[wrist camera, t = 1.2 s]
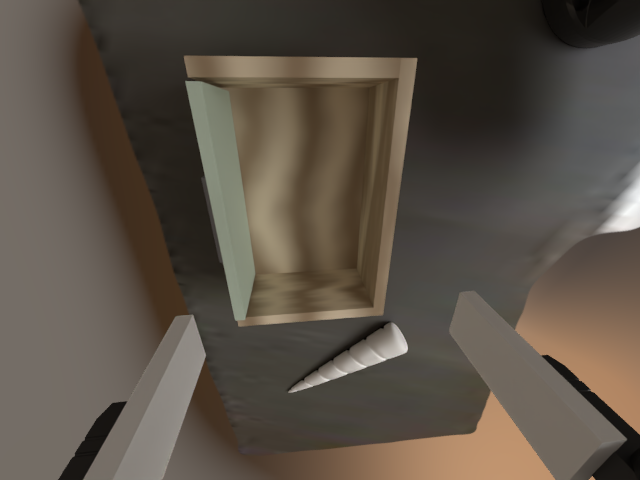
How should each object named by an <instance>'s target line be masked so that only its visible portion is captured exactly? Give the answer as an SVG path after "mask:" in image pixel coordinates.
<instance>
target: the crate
mask: <svg viewBox="0 0 640 480" xmlns="http://www.w3.org/2000/svg"><path fill="white" fill-rule="evenodd" d="M184 60H185V65H186V70H187V75H188V77H189V78H192V79H195V80H197V81H202V82H204V83H207V84H210V85H213V86H216V87H219V88H221V89H224V90H227V91H229V95H230V102H231V109H232V116H233V122H234V129H235V136H236V143H237V150H238V157H239V164H240V171H241V177H242V184H243V191H244V198H245V205H246V212H247V219H248V226H249V232H250V239H251V246H252V253H253V260H254V267H255V278H254V283H253V287H252V292H251V296H250V301H249V305H248V309H247V314H246V318H245V320H238V325H239V326H251V325H264V324H276V323H289V322H301V321H314V320H326V319H339V318H352V317H364V316H377V315H383V311H384V303H385V296H386V288H387V281H388V274H389V266H390V259H391V251H392V244H393V236H394V229H395V222H396V214H397V207H398V199H399V192H400V184H401V177H402V170H403V162H404V155H405V147H406V140H407V133H408V125H409V118H410V110H411V103H412V95H413V88H414V81H415V73H416V66H417V58H367V57H268V56H184Z"/></svg>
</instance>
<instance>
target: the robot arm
mask: <svg viewBox="0 0 640 480" xmlns="http://www.w3.org/2000/svg"><path fill="white" fill-rule="evenodd" d="M542 1H543V7H544V12H545V15H546V18H547V20H548V23H549V25H550V27H551V28H552V30H553V31H554V33H555V34H556V35H557V36H558V37H559V38H560V39H561V40H563V41H564V42H566V43H567V44H570V45H572V46H575V47H580V48H593V47H598V46H603V45H607V44H612V43H616V42H621V41H624V40H627V39H630V38H632V37H635V36H638V35H640V0H542ZM449 333H450V334H451V336H452V337H453V338H454V340H455V341H456V343H457V344H458V345H459V347H460V348H461V349H462V351H463V352H464V354H465V355H466V356H467V358H468V359H469V361H470V362H471V363H472V365H473V366H474V367H475V369H476V370H477V372H478V373H479V374H480V376H481V377H482V379H483V380H484V381H485V383H486V384H487V385H488V387H489V388H490V390H491V391H492V392H493V394H494V395H495V396H496V398H497V399H498V401H499V402H500V403H501V405H502V406H503V408H504V409H505V410H506V412H507V413H508V414H509V416H510V417H511V418H512V420H513V421H514V423H515V424H516V426H517V427H518V428H519V430H520V431H521V432H522V434H523V435H524V437H525V438H526V439H527V441H528V442H529V443H530V445H531V446H532V448H533V449H534V450H535V451H536V453H537V455H538V456H539V457H540V459H541V460H542V461H543V463H544V464H545V466H546V467H547V468H548V470H549V471H550V473H551V474H552V475H553V477H554V478H555V479H556V480H589V479H590V478H591V477H592V476H593V477H594V478H595V480H640V435H639V434H638V433H637V432H636V431H635V430H634V429H633V428H632V427H630V426H629V425H628V424H627V423H626V422H625V421H624V420H623V419H622V418H621V417H620V416H618V414H617V413H615V412H614V411H613V410H612V409H611V408H610V407H609V406H608V405H607V404H606V403H605V402H603V401H602V400H601V399H600V398H599V397H598V396H597V395H596V394H595V393H593V392H591V391H590V389H589V388H588V387H587V386H586V385H585V384H584V383H583V382H582V381H579V379H578V378H577V377H576V376H575V375H574V374H573V373H572V372H571V371H570V370H569V369H568V368H567V367H566V366H564V365H563V364H561V363H560V362H558V361H557V360H555V359H553V358H552V357H550V356H549V355H542V356H541V355H540V354H539V353H538V352H537V351H536V350H535V349H533V347H532V346H530V345H529V344H528V343H527V342H526V341H525V340H524V339H523V338H522V337H521V336H520V335H519V334H518V333H517V332H516V331H515V330H514V329H513V328H512V327H511V326H510V325H509V324H508V323H507V322H506V321H505V320H504V319H503V318H502V317H501V316H500V315H498V314H497V313H496V312H495V311H494V310H493V309H492V308H491V307H490V306H489V305H488V304H487V303H486V302H485V301H484V300H483V299H482V298H481V297H480V296H479V295H478V294H477V293H476V292H475V291H470V292H460V294H459V298H458V302H457V305H456V309H455V312H454V316H453V319H452V323H451V326H450V330H449ZM205 357H206V354H205V351H204V348H203V345H202V342H201V338H200V335H199V332H198V329H197V326H196V323H195V320H194V316H193V315H184V316H176V317H175V319H174V321H173V322H172V324H171V326H170V327H169V329H168V331H167V333H166V334H165V336H164V338H163V340H162V342H161V343H160V345H159V347H158V349H157V350H156V352H155V354H154V356H153V357H152V359H151V361H150V363H149V364H148V366H147V368H146V370H145V371H144V373H143V375H142V377H141V379H140V380H139V382H138V384H137V385H136V387H135V389H134V391H133V393H132V394H131V396H130V398H129V400H128V401H127V402H118V403H112V404H111V405H110V406H109V407H108V408H107V409H106V410H105V411H104V412H103V413H102V414H101V415H100V416H99V417H98V418H97V419H96V421H95V423H94V425H93V426H92V428H91V429H90V431H89V432H88V434H87V435H86V437H85V441H83V442H82V443H81V445H80V446H79V448H78V449H77V451H76V452H75V456H74V457H73V458H72V459H71V460H70V462H69V464H68V465H67V467H66V468H65V470H64V471H63V473H62V475H61V476H60V478H59V479H58V480H162V479H163V476H164V474H165V471H166V468H167V465H168V462H169V460H170V457H171V454H172V451H173V448H174V445H175V442H176V439H177V437H178V434H179V431H180V428H181V425H182V422H183V420H184V417H185V414H186V411H187V408H188V405H189V402H190V399H191V397H192V394H193V391H194V388H195V385H196V382H197V380H198V377H199V374H200V371H201V368H202V365H203V363H204V360H205Z"/></svg>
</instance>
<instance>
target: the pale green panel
mask: <svg viewBox="0 0 640 480" xmlns="http://www.w3.org/2000/svg"><path fill="white" fill-rule="evenodd" d="M185 83H186V87H187V92H188V97H189V102H190V107H191V111H192V116H193V121H194V126H195V130H196V135H197V140H198V145H199V150H200V154H201V159H202V164H203V169H204V174H205V175H204V176H203V177H201V180H202V184H203V189H204V194H205V198H206V203H207V207H208V212H209V217H210V221H211V226H212V231H213V235H214V240H215V244H216V249H217V254H218V258H219V263H223V265H224V269H225V274H226V279H227V284H228V288H229V293H230V298H231V303H232V308H233V312H234V317H235V321H238V320H245V318H246V314H247V309H248V305H249V301H250V296H251V292H252V287H253V283H254V278H255V267H254V260H253V253H252V246H251V239H250V232H249V226H248V219H247V212H246V205H245V198H244V191H243V184H242V177H241V171H240V164H239V157H238V150H237V143H236V136H235V129H234V122H233V116H232V109H231V102H230V95H229V91H227V90H224V89H221V88H219V87H216V86H213V85H210V84H207V83H204V82H202V81H185Z"/></svg>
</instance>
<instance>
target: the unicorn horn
mask: <svg viewBox="0 0 640 480" xmlns="http://www.w3.org/2000/svg"><path fill="white" fill-rule="evenodd" d="M366 338H367V339H366V340H364V339H363V340H361V341H360V342H358V343H357V344H355V345H354V346H352V347H351V348H350V350H349V351H348V350H346V351H344V352H343V353H341V354H340V355H338V356H337V357H335V358H334V360H333V361H332V360H330V361H329V362H327V363H326V364H324V365H323V366H321V367H320V368H319V370H318V371H317V370H316V371H314V372H313V373H311V374H310V375H308V376H307V377H305V378H304V381H303V380H301V381H300V382H298V383H297V384H296V385H295V386H293V387H292V388H291V390H289V391H288V392H289V393H290V392H295V391H299V390H303V389H306V388H309V387H312V386H314V385H318V384H321V383H324V382H327V381H329V380H332V379H335V378H338V377H341V376H344V375H347V374H348V373H352V372H355V371H358V370H360V369H363V368H366V367H367V366H371V365H374V364H377V363H379V362H382V361H385V360H386V359H390V358H393V357H396V356H399V355H402V354H404V353H406V352H407V350H408V347H407V343H406V340H405V338H404V336H403V335H402V333H401V331H400V330H399V328H398V327H397V326H396V325H395V324H394V323H392V322H390V323H388V324H386V325H385V326H384V328H383V329H382V328H380V329H378V330H377V331H375V332H374V333H372V334H371V335H369V336H368V337H366Z"/></svg>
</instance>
